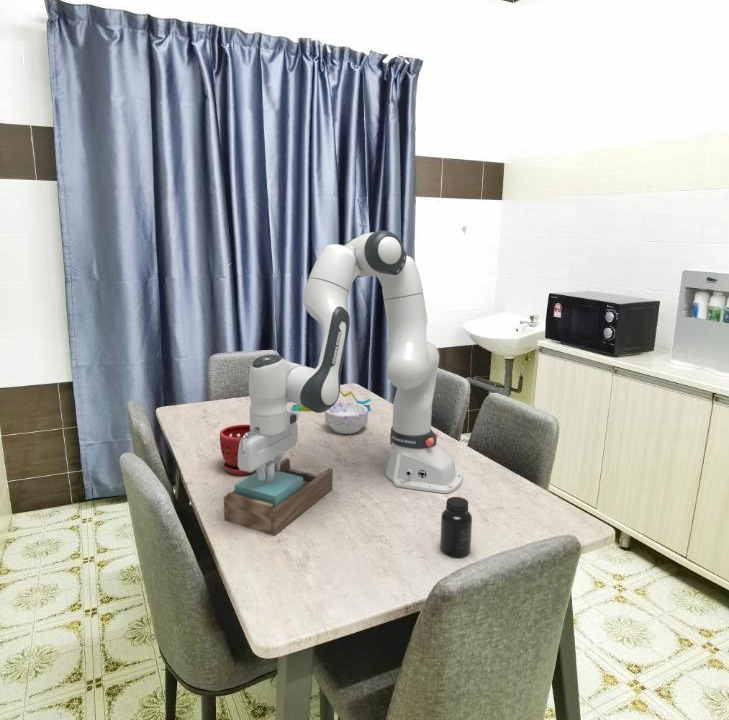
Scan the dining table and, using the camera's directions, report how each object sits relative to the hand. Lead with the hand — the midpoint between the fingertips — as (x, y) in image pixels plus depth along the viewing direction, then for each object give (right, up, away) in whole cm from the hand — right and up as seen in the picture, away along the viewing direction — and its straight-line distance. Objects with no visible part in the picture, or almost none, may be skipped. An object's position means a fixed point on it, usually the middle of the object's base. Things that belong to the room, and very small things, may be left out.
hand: (269, 474), depth 140 cm
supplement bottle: (+44, -15, -12) cm, 48 cm away
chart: (+11, +8, +82) cm, 84 cm away
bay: (+2, -9, +7) cm, 11 cm away
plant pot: (-12, -4, +28) cm, 31 cm away
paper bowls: (+17, +3, +62) cm, 64 cm away
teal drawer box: (0, -8, +2) cm, 9 cm away
